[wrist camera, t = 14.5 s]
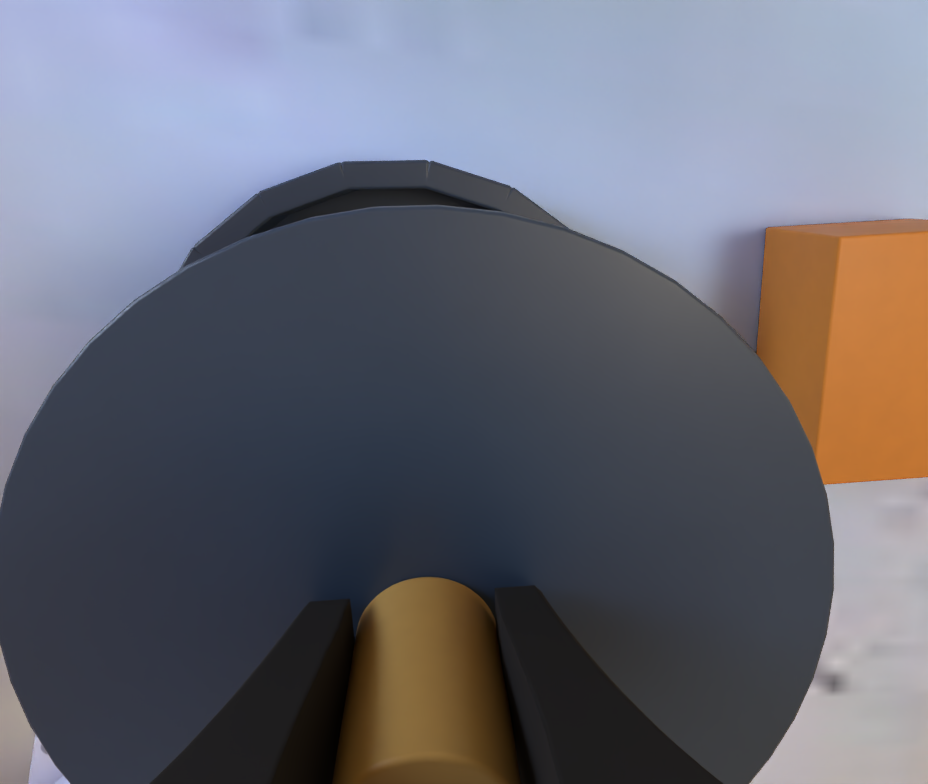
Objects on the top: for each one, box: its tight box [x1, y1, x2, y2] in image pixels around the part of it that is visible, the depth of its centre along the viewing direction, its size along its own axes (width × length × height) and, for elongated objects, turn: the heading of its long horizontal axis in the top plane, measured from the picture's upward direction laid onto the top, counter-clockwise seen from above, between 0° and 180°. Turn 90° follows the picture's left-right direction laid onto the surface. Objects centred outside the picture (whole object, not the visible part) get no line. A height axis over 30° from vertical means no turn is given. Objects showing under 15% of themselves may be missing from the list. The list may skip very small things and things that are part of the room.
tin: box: [179, 160, 569, 270], centre depth 18 cm, size 12×12×2 cm
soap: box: [756, 219, 928, 484], centre depth 17 cm, size 6×4×3 cm, turn 3°
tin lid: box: [0, 205, 834, 784], centre depth 9 cm, size 13×13×4 cm
